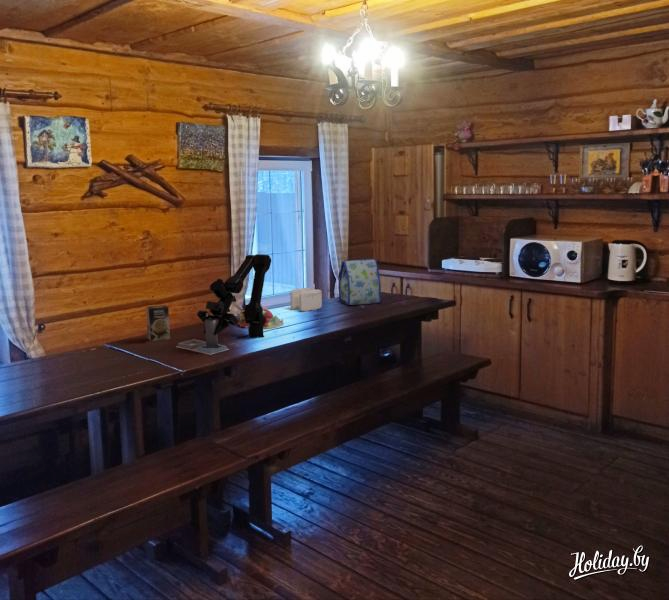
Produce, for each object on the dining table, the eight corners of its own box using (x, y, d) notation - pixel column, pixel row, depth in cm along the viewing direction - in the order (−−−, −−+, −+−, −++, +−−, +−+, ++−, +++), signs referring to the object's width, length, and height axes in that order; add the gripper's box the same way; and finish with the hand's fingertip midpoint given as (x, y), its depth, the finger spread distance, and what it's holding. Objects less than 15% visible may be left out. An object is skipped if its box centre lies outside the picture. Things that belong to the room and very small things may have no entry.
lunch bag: (369, 299, 416) (369, 256, 411) (382, 303, 401) (382, 259, 396) (336, 302, 406) (336, 259, 401) (349, 307, 391) (348, 262, 387)
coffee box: (150, 343, 312) (148, 308, 309) (147, 340, 318) (145, 306, 315) (170, 340, 316) (168, 306, 314) (167, 337, 322) (165, 304, 319)
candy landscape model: (228, 328, 343) (227, 310, 341) (247, 318, 365) (247, 301, 363) (274, 330, 335) (273, 312, 334) (291, 321, 357) (290, 303, 356)
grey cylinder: (214, 344, 297) (213, 318, 295) (219, 347, 293) (218, 320, 291) (204, 346, 295) (203, 319, 292) (209, 349, 291) (207, 321, 288)
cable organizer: (311, 306, 394) (310, 287, 392) (322, 309, 386) (322, 289, 384) (290, 310, 385) (289, 290, 383) (301, 312, 377) (301, 292, 375)
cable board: (175, 348, 301) (175, 343, 301) (195, 343, 310) (194, 338, 309) (210, 356, 287) (210, 351, 287) (229, 351, 296) (229, 345, 295)
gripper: (198, 292, 298) (183, 321, 290) (232, 295, 289) (218, 325, 281) (210, 306, 306) (195, 335, 298) (244, 310, 297) (230, 340, 290)
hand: (209, 334), depth 292 cm, fingers closed on grey cylinder, 5 cm apart
